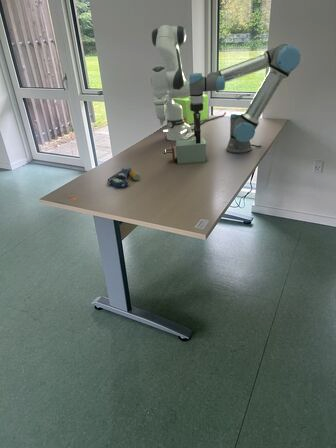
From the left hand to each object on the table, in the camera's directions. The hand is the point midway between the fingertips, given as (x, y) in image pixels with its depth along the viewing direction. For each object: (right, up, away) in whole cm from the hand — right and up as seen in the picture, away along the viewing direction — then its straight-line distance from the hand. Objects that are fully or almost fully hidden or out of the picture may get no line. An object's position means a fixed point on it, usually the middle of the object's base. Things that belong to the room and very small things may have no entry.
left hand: (163, 122), depth 198 cm
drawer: (+11, -20, +9) cm, 25 cm away
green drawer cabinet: (+17, -20, +10) cm, 28 cm away
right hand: (+21, -9, +3) cm, 23 cm away
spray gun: (-21, -36, -11) cm, 43 cm away
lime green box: (+22, +30, +91) cm, 98 cm away
